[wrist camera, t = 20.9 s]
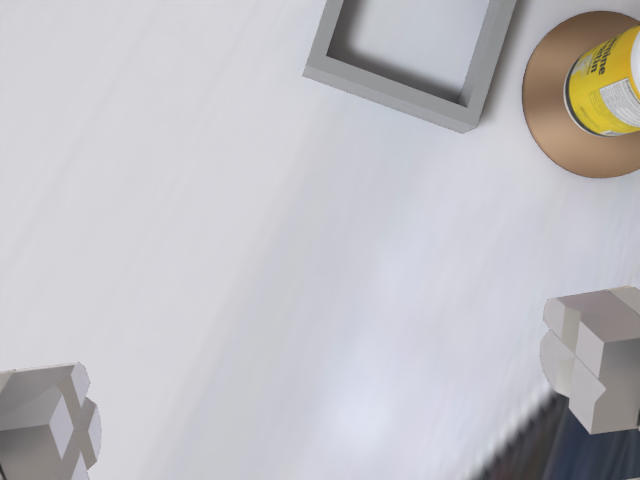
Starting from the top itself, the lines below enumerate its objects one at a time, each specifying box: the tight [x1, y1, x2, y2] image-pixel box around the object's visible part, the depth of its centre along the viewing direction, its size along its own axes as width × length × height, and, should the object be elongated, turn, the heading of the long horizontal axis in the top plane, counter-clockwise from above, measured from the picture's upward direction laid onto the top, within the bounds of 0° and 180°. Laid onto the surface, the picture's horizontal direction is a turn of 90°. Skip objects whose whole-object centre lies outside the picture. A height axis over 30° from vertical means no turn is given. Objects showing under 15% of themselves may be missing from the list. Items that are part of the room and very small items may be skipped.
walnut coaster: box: [522, 11, 640, 178], centre depth 42 cm, size 12×12×1 cm
